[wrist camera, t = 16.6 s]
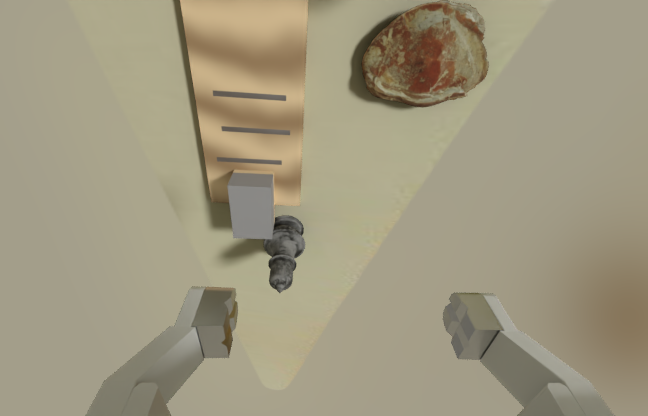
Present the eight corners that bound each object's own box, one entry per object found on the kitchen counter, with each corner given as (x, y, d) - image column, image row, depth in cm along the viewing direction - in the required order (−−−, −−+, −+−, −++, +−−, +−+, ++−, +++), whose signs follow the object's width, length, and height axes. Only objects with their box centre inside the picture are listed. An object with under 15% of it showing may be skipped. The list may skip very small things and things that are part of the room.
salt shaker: (268, 211, 45) (256, 272, 35) (308, 216, 46) (307, 278, 36) (264, 241, 48) (252, 305, 38) (302, 246, 49) (300, 310, 39)
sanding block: (234, 169, 39) (227, 185, 36) (273, 171, 40) (270, 187, 36) (239, 219, 44) (233, 238, 41) (274, 221, 44) (271, 239, 41)
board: (180, -28, 29) (175, -29, 28) (308, -16, 30) (308, -16, 29) (213, 197, 43) (211, 202, 42) (300, 201, 44) (299, 206, 43)
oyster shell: (486, -15, 31) (502, -17, 28) (481, 87, 36) (494, 94, 34) (353, 21, 32) (357, 23, 29) (368, 115, 37) (372, 123, 35)
